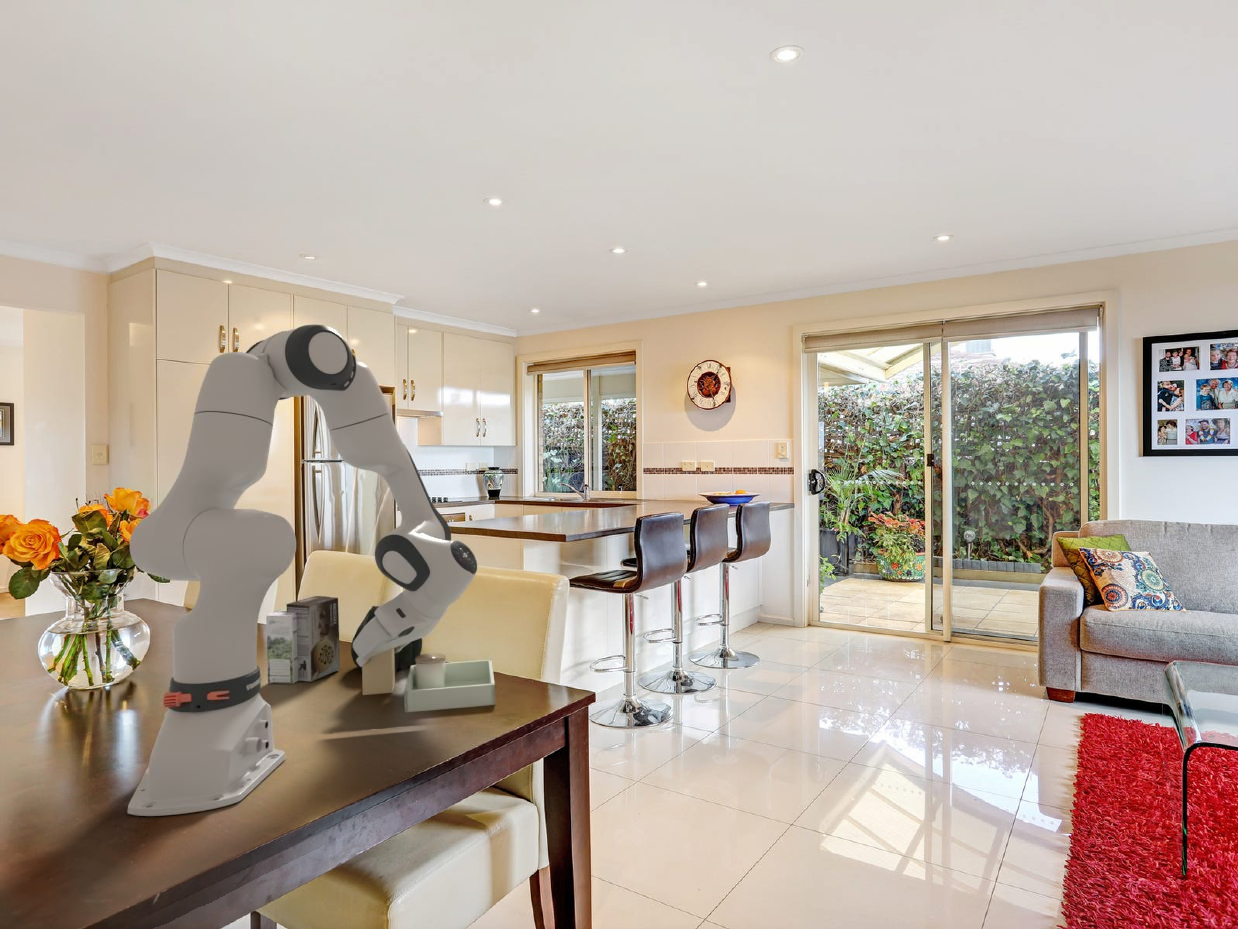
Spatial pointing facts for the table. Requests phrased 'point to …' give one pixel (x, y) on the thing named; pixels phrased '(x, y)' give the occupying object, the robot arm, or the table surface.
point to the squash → (401, 658)
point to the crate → (454, 688)
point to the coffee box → (317, 636)
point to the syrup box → (282, 647)
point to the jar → (430, 671)
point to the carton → (379, 674)
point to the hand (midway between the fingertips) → (377, 656)
